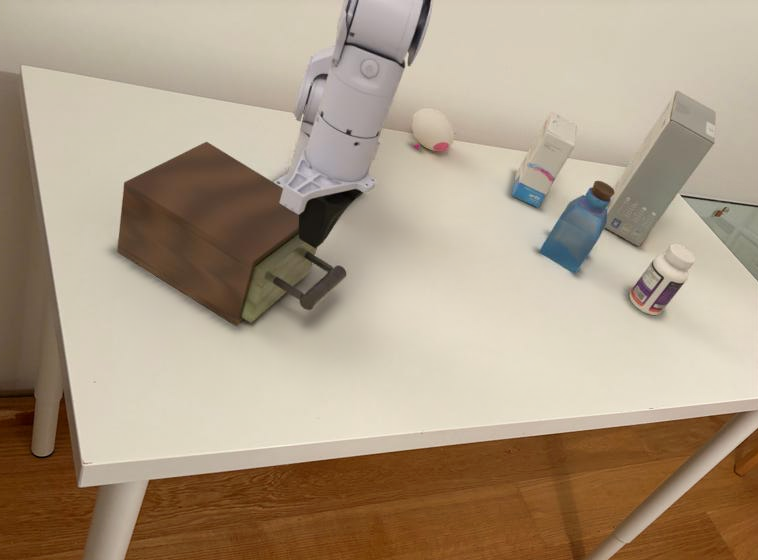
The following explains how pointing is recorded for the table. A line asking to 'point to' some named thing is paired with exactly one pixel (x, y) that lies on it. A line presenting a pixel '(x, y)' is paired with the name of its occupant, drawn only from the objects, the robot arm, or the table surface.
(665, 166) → the hard drive box
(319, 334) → the table surface
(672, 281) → the pill bottle
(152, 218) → the cabinet
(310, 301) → the drawer
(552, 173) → the ink box
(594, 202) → the perfume bottle
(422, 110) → the stress ball
